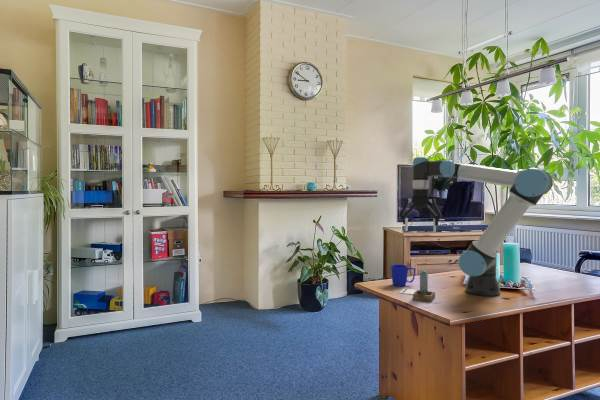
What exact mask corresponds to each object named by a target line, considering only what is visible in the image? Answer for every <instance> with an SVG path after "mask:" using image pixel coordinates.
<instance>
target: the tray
mask: <svg viewBox="0 0 600 400" xmlns="http://www.w3.org/2000/svg"><path fill="white" fill-rule="evenodd" d="M416 290H417V291H415V292H414V293H413V295H412V300H413V301H420V302H427V303H432V302H433V301H434V300H435V298H436V291H430V290H428V295H422V294H420V289H416Z"/></svg>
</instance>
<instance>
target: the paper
mask: <svg viewBox="0 0 600 400" xmlns="http://www.w3.org/2000/svg"><path fill="white" fill-rule="evenodd" d="M417 290H418V289H412V288H403V289H401V291H399V292H398V293H399V294H404V295H411V296H413V293H414V292H415V291H417Z"/></svg>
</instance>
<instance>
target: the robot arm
mask: <svg viewBox="0 0 600 400" xmlns="http://www.w3.org/2000/svg"><path fill="white" fill-rule="evenodd" d="M411 166H412V168H411V169H412V188H413V189H412V198H405V203H404V205H403V207H402V208H401V211H400V213H399V215H398V216H399V217H401V218H402V225H404V231H405V232H408V231H409V230H408V229H409V226H408V225H409V224H408V223H409V218H408V216H409V215H410V214H411V212H412V211H413V210H414V209H415V208H417V209H418V208H422V209H423V208H426V209H427V211H428V212H429V213H430V215H432V217H433V223H432V227H433V228H432V229H433V231H432V232H433V233H436V231H437V227H438V226H439V219H441V218H442V217H443V215H442V213H441V211H440V209H439V207H438V205H437V203H436V199H435V198H429V186H430V185H429V184H430V183H429V180H430V179H429V177H444V178H453V179H459V180H465V181H472V182H479V183H484V184H491V185H496V186H502V187H509V188H510V189H509V190H508V193H509V196H508V197H507V199H506V201H505V202H504V203H503V205H502V206H501V208H500V209H499V210H498V212H497V213H496V214H495V216H494V217H493V219H492V220H491V221H490V223H489V224H488V226H487V227H486V228H485V230H484V231H483V233H482V234H481V235H480V237H479V238H478V239H477V240H473V241H472V242H471V243H470V244H469V246H468V248H467V249H466V250H465V251H463V252H462V253H461V254H460V256H459V257H458V258H459V259H458V266H459V269H460V270H461V271H462V272H463V274H465V275H467V276H468V278H467V281H466V284H465V292H467V293H469V294H471V295H477V296H482V297H483V296H485V297H494V296H495V297H496V296H499V295H500V294H501V288H500V284H499V283H498V279H497V256H498V255H497V254H498V251H497V250H498V249H500V247H501V245H502V244H503V243H504V241H505V240H506V239H507V237H508V236H509V235H510V234H511V232H512V231H513V230H514V228H515V227H516V225H517V224H518V223H519V221H520V220H521V219H522V218H523V215H525V213H526V212H527V210H528V209H529V208H530V207H533V206H534V207H535V206H536V205H537V203H539V201H540V200H541V198H542V197H543V196H544V195H546V194H547V193H548V192H549V191H550V190H551V189H552V188H553V183H554V181H553V178H552V176H551V175H550V173H549V172H547V171H546V170H543V169H541V168H539V167H529V168H525V169H519V170H510V169H504V168H497V167H489V166H483V165H474V164H468V163H467V164H466V163H460V162H459V163H458V162H454V160H450V159H443V160H429V157H425V156H417V157H414V158H413V159H412V165H411ZM410 203H412V204H411V207H409V209H407V208H408V206H409V204H410ZM429 203H431V204H432V206H433V208H434V210H435V211H434V210H433V209H432V208H431V206H430V205H429ZM406 210H407V211H406Z"/></svg>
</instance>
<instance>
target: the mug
mask: <svg viewBox="0 0 600 400" xmlns="http://www.w3.org/2000/svg"><path fill="white" fill-rule="evenodd" d="M390 268H391V269H390V270H391V280H392V281H391V282H392V285H394V286H395V287H396V286H397V287H404V286H406V285H407V283H409V284H411V283H413V281H414V280H415V276H416V268H414V267H409V266H408V265H405V264H392V265H391V267H390ZM409 270H413V276H412V280H408V272H409Z"/></svg>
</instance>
